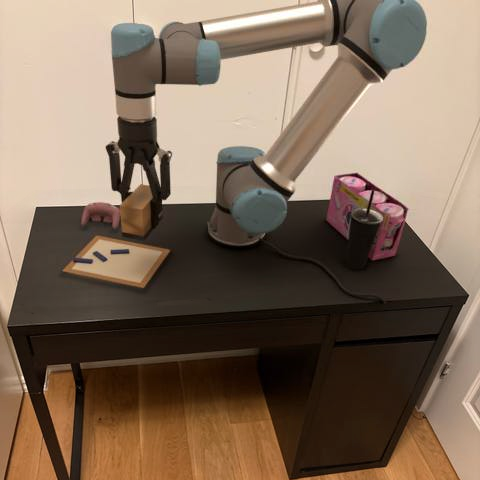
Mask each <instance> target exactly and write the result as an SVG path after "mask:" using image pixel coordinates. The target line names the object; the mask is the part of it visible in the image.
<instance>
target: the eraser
mask: <svg viewBox="0 0 480 480" xmlns="http://www.w3.org/2000/svg"><path fill="white" fill-rule="evenodd" d="M131 192H132V193H131V194H130V195H129V196H128V197H127V198H126V199H125V200H124V201H123V202H122V201H121V203H120V204H119V209H120V214H121V215H120V224H121V225H120V226H121V236H122V237H123V238H126V239H132V240H135V241H142V242H145V241H146V239H147V238H148V237H149V236H150V234H151V233H152V232H153V231H154V229H151V211H150V201H151V200H152V199H153V196H152V193H151V189H150V186H149V184H148V185H147V184H142V183H140V184H139V185H138V186H137V187H136V188H135V189H134V190H133V191H131ZM162 220H163V211H162V212H161V213H160V214H159V223H160V222H161V221H162Z"/></svg>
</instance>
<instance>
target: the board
mask: <svg viewBox="0 0 480 480" xmlns="http://www.w3.org/2000/svg"><path fill="white" fill-rule="evenodd" d="M119 249H129V254H111V253H110V251H111V250H119ZM95 251H98V252H99V253H100V254H102V255H103V256H105V257H106V258H107V261H105V262H102V261H101V260H100V259H98V258H97V257H96V256H94V255H93V252H95ZM170 252H171V249H168V248H163V247H158V246H153V245H147V244H142V243H137V242H132V241H127V240H122V239H116V238H112V237H106V236H101V235H95V236H94V237H93V238H92V239H91V240H90V241H89V242H88V244H86V245H85V247H84V248H82V250H80V252H78V253H77V255H75V257H74V258H85V259H93V263H92V264H87V263H76V262H73V259H72V260H71V261H70V262H69V263H68V264H67V265H66V266H65V267H64V268H63V269H62V270H61V271H62V272H64V273H69V274H74V275H79V276H84V277H89V278H93V279H98V280H104V281H108V282H112V283H117V284H123V285H127V286H132V287H137V288H142V289H145V287H146V285H147V284H148V283H149V281H150V280H151V279H152V278H153V276H154V274H155V273H156V272H157V270H158V269H159V268H160V266H161V265H162V263H163V262H164V260H165V259H166V257H167V256H168V255H169V253H170Z"/></svg>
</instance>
